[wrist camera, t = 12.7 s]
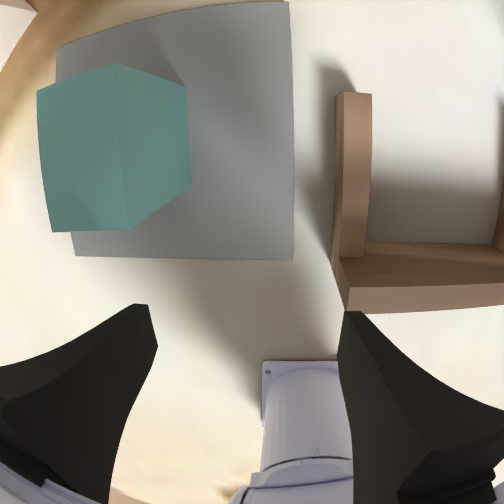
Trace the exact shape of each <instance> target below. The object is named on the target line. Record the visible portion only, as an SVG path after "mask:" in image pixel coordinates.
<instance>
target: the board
mask: <svg viewBox="0 0 504 504" xmlns="http://www.w3.org/2000/svg"><path fill="white" fill-rule="evenodd" d="M114 63H120V64H123V65H126V66H129V67H132V68H135V69H138V70H141V71H144V72H147V73H150V74H153V75H155V76H158V77H161V78H164V79H166V80H169V81H171V82H174V83H177V84H179V85H182V86H184V87H186V101H187V124H188V143H189V159H190V174H191V187H190V188H188V189H187V190H185V191H184V192H182V193H181V194H179V195H178V196H176V197H175V198H173V199H172V200H170V201H169V202H168V203H166V204H165V205H163V206H162V207H161V208H159V209H158V210H156V211H155V212H154V213H152V214H151V215H149V216H148V217H147V218H145V219H144V220H142V221H141V222H140V223H138V224H137V225H136V226H134V227H133V228H132V229H130V230H100V231H72V232H71V237H72V241H73V246H74V250H75V255H76V256H93V257H137V258H188V259H251V260H293V222H294V116H293V77H292V52H291V31H290V14H289V2H250V3H235V4H225V5H215V6H208V7H200V8H194V9H188V10H182V11H177V12H171V13H167V14H162V15H157V16H153V17H149V18H145V19H141V20H137V21H134V22H130V23H126V24H123V25H120V26H116V27H113V28H110V29H107V30H104V31H101V32H98V33H95V34H93V35H90V36H87V37H85V38H82V39H79V40H77V41H74V42H72V43H70V44H67V45H65V46H62V47H60V48H58V49H57V61H56V83H57V82H60V81H62V80H65V79H68V78H70V77H73V76H76V75H79V74H82V73H85V72H88V71H91V70H94V69H97V68H100V67H103V66H107V65H110V64H114Z"/></svg>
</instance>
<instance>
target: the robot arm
mask: <svg viewBox="0 0 504 504" xmlns="http://www.w3.org/2000/svg"><path fill="white" fill-rule="evenodd" d="M157 348H158V344H157V340H156V336H155V333H154V329H153V324H152V320H151V316H150V312H149V307H148V305H146V304H132V305H130V306H128V307H126V308H125V309H123V310H121V311H120V312H118V313H117V314H115V315H113V316H112V317H110V318H109V319H107V320H105V321H104V322H102V323H101V324H99V325H97V326H96V327H94V328H93V329H91V330H89V331H88V332H86V333H84V334H82V335H81V336H79V337H77V338H75V339H74V340H72V341H70V342H68V343H66V344H64V345H62V346H60V347H58V348H56V349H54V350H51V351H49V352H47V353H44V354H41V355H39V356H36V357H33V358H30V359H28V360H25V361H21V362H18V363H14V364H10V365H6V366H1V367H0V504H108V501H109V492H110V485H111V478H112V473H113V468H114V463H115V458H116V454H117V450H118V447H119V443H120V439H121V436H122V433H123V430H124V426H125V423H126V420H127V418H128V415H129V413H130V410H131V408H132V406H133V404H134V402H135V400H136V398H137V396H138V394H139V392H140V390H141V388H142V386H143V384H144V382H145V380H146V377H147V375H148V373H149V371H150V369H151V367H152V364H153V361H154V358H155V354H156V351H157ZM266 370H270V371H266ZM262 426H263V427H264V433H263V445H262V455H261V466H260V472H256V473H252V474H251V481H250V485H244V486H242V487H240V488H239V489H238V490H237V492H236V493H235V494H234V495H233V496H232V498H231V499H230V501H229V504H504V482H502V483H501V484H499V485H497V486H496V487H494V488H493V486H492V482H491V481H493V480H494V479H495V477H496V475H495V472H494V470H493V468H494V467H495V466H496V465H497V464H498V463H499V462H500V461H501V460H502V459H503V458H504V410H501V409H498V408H495V407H492V406H489V405H486V404H483V403H481V402H479V401H477V400H474V399H472V398H470V397H468V396H466V395H464V394H462V393H460V392H458V391H456V390H454V389H453V388H451V387H449V386H448V385H446V384H444V383H442V382H441V381H439V380H438V379H436V378H435V377H433V376H432V375H430V374H429V373H428V372H426V371H425V370H423V369H422V368H421V367H419V366H418V365H417V364H416V363H414V362H413V361H412V360H411V359H410V358H408V357H407V356H406V355H405V354H404V353H403V352H401V351H400V350H399V349H398V348H397V347H396V346H395V345H394V344H393V343H392V342H391V341H390V340H389V339H388V338H387V337H386V336H385V335H384V334H383V333H382V332H381V331H380V330H379V329H378V328H377V327H376V326H375V325H374V324H373V323H372V322H371V321H370V320H369V319H368V318H367V316H366V315H365V314H364V313H363V312H362V311H344V317H343V323H342V329H341V335H340V340H339V346H338V351H337V361H265V362H263V364H262Z"/></svg>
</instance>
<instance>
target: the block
mask: <svg viewBox="0 0 504 504" xmlns="http://www.w3.org/2000/svg"><path fill="white" fill-rule="evenodd" d="M37 124H38V140H39V152H40V161H41V170H42V178H43V185H44V191H45V197H46V203H47V209H48V214H49V219H50V224H51V229H52V232H72V231H100V230H130V229H132V228H133V227H134V226H136V225H137V224H138V223H140V222H141V221H142V220H144V219H145V218H147V217H148V216H149V215H151V214H152V213H154V212H155V211H156V210H158V209H159V208H161V207H162V206H163V205H165V204H166V203H168V202H169V201H170V200H172V199H173V198H175V197H176V196H178V195H179V194H181V193H182V192H184V191H185V190H187V189H188V188H190V187H191V174H190V159H189V143H188V124H187V101H186V87H184V86H182V85H179V84H177V83H174V82H171V81H169V80H166V79H164V78H161V77H158V76H155V75H153V74H150V73H147V72H144V71H141V70H138V69H135V68H132V67H129V66H126V65H123V64H120V63H114V64H110V65H107V66H103V67H100V68H97V69H94V70H91V71H88V72H85V73H82V74H79V75H76V76H73V77H70V78H68V79H65V80H62V81H60V82H57V83H55V84H52V85H50V86H47V87H45V88H43V89H40V90H38V91H37Z"/></svg>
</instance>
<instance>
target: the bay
mask: <svg viewBox="0 0 504 504" xmlns="http://www.w3.org/2000/svg"><path fill="white" fill-rule="evenodd" d="M335 115H336V147H335V188H334V210H333V227H332V242H331V255H330V264H331V267H332V270H333V273H334V277H335V280H336V283H337V286H338V289H339V292H340V296H341V299H342V302H343V305H344V309H345V311H362V312H363V313H364V314H382V313H405V312H424V311H439V310H452V309H464V308H476V307H486V306H495V305H504V181H503V190H502V197H501V204H500V210H499V216H498V222H497V227H496V232H495V237H494V242H493V245H482V244H450V243H413V242H368V241H365V239H366V230H367V219H368V208H369V194H370V178H371V155H372V94H368V93H358V92H347V91H343V92H341V93H340V94H338V95H336V96H335Z"/></svg>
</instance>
